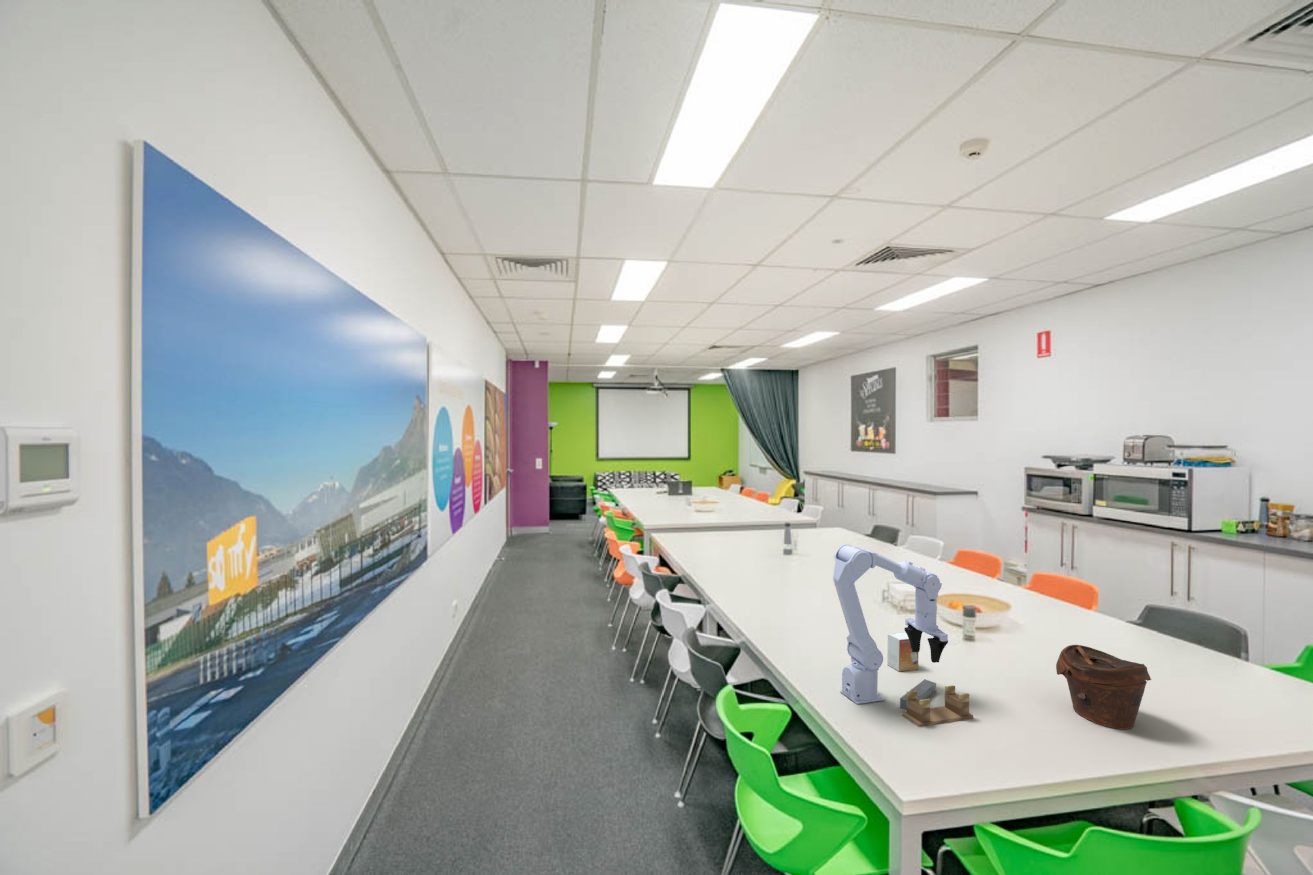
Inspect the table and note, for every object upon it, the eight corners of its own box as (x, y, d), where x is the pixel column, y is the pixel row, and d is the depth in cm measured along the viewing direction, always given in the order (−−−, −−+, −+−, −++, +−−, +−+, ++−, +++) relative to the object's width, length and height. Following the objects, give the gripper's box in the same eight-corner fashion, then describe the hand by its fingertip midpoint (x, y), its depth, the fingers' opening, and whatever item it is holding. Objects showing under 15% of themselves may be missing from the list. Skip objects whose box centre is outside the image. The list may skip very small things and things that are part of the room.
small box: (898, 671, 170) (899, 639, 170) (886, 664, 175) (887, 633, 175) (918, 669, 172) (919, 637, 172) (906, 662, 177) (906, 631, 177)
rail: (911, 713, 144) (911, 702, 144) (899, 709, 146) (900, 698, 146) (935, 693, 156) (935, 682, 156) (924, 689, 158) (924, 679, 158)
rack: (918, 726, 136) (919, 702, 137) (902, 715, 142) (902, 691, 142) (973, 718, 141) (973, 694, 141) (955, 707, 147) (955, 684, 147)
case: (1056, 692, 157) (1057, 633, 157) (1147, 715, 144) (1148, 651, 144) (1054, 716, 143) (1055, 652, 143) (1154, 744, 131) (1155, 673, 130)
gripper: (956, 618, 151) (955, 665, 151) (918, 603, 165) (918, 646, 165) (936, 620, 149) (936, 667, 149) (899, 604, 163) (899, 648, 163)
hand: (925, 656), depth 157 cm, fingers open, 7 cm apart
